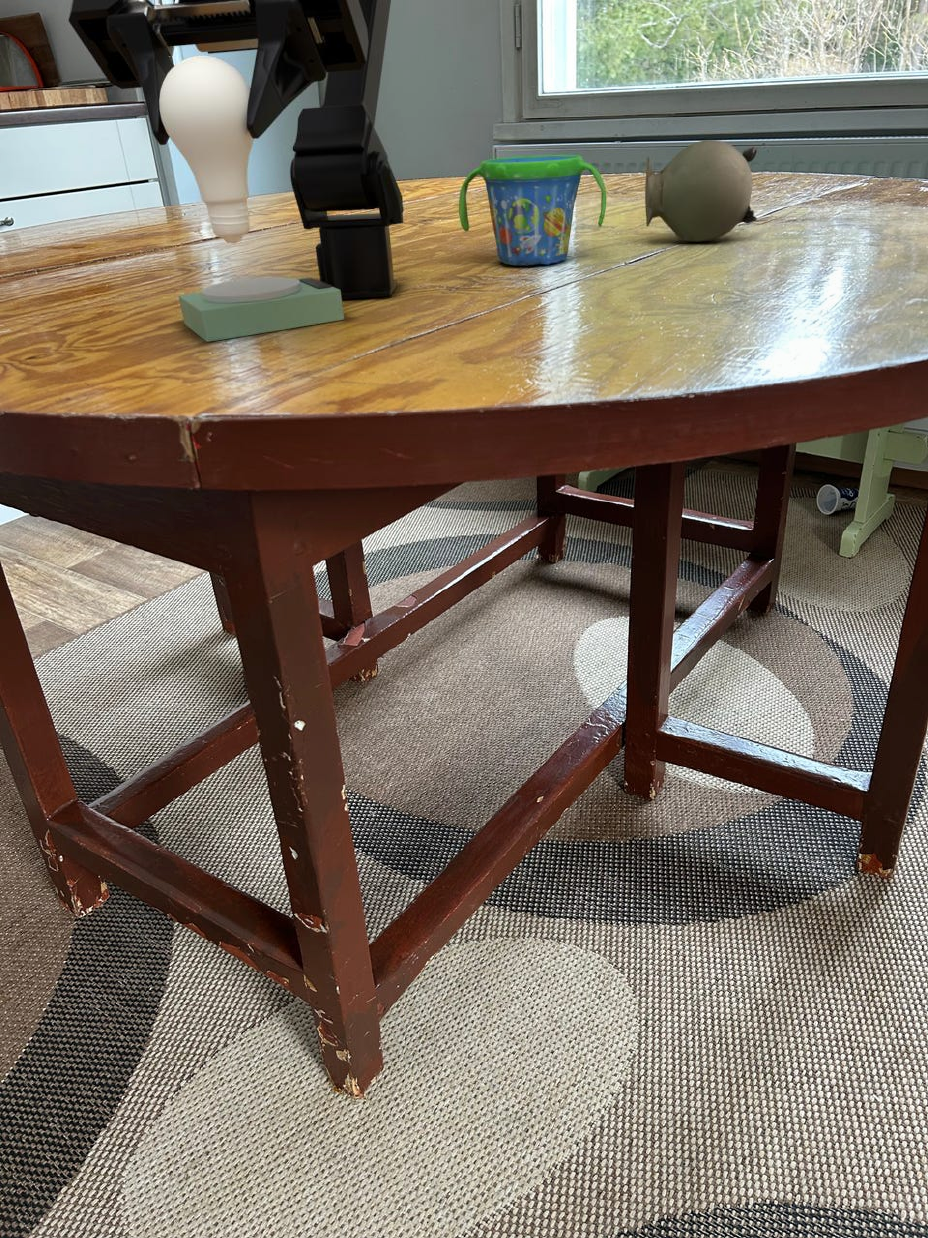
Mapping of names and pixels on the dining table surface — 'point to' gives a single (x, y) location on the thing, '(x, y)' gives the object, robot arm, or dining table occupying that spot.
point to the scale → (260, 306)
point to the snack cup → (531, 205)
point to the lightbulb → (212, 136)
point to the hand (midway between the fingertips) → (204, 136)
